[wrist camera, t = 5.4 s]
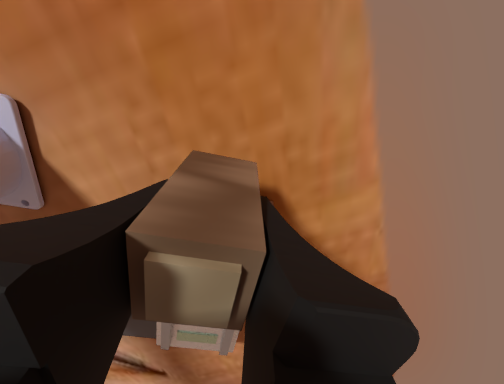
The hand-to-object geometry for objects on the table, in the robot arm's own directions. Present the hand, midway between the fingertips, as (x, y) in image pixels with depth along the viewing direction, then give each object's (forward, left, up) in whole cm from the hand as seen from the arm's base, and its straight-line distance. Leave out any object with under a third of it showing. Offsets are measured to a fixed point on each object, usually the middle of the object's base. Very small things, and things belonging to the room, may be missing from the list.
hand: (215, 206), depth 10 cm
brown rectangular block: (0, 0, -2) cm, 2 cm away
